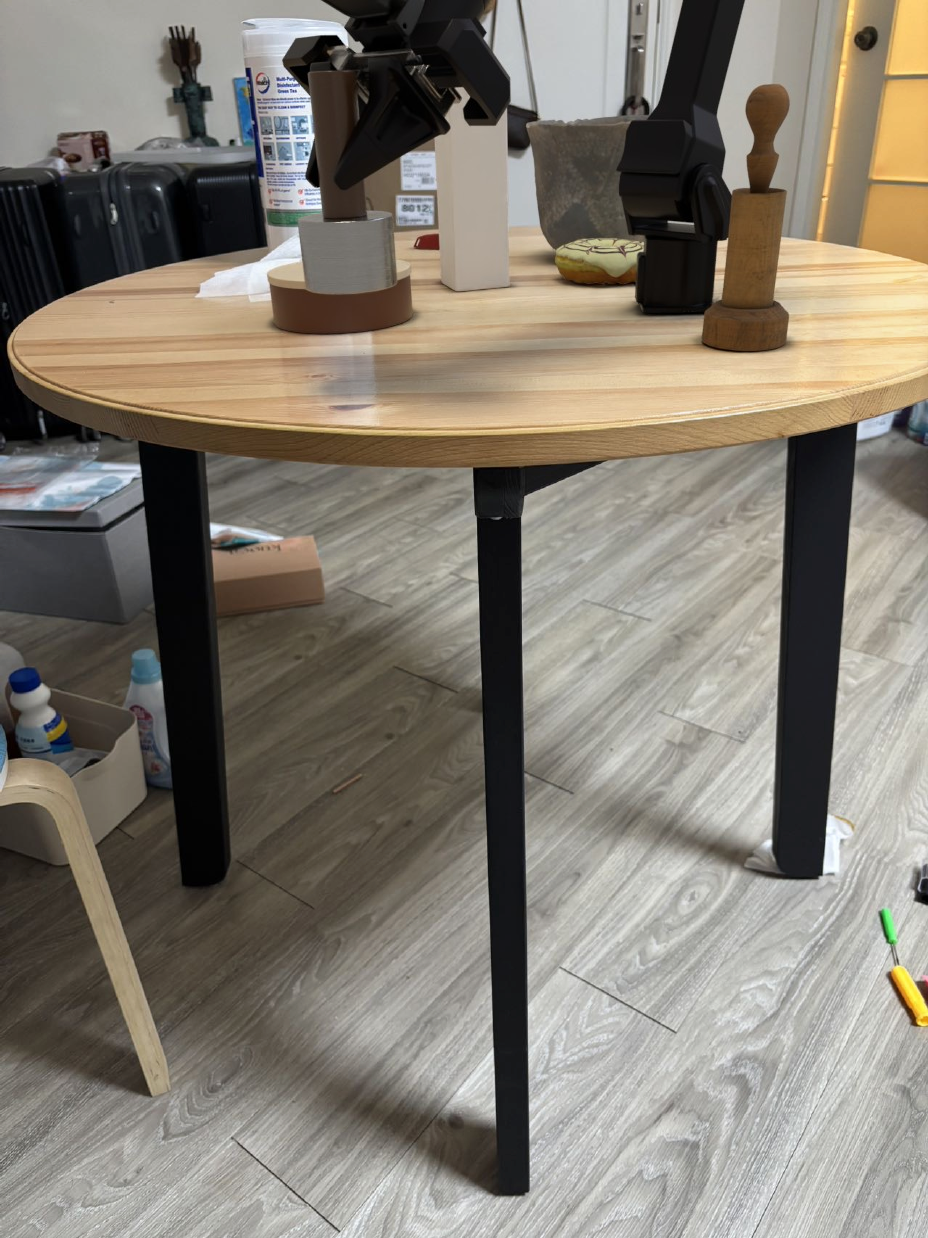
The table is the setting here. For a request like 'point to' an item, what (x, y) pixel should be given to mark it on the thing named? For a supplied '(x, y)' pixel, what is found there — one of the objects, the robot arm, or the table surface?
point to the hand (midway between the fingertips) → (324, 184)
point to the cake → (337, 304)
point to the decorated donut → (599, 260)
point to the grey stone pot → (580, 178)
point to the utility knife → (428, 242)
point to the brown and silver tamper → (342, 203)
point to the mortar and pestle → (754, 241)
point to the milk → (472, 202)
